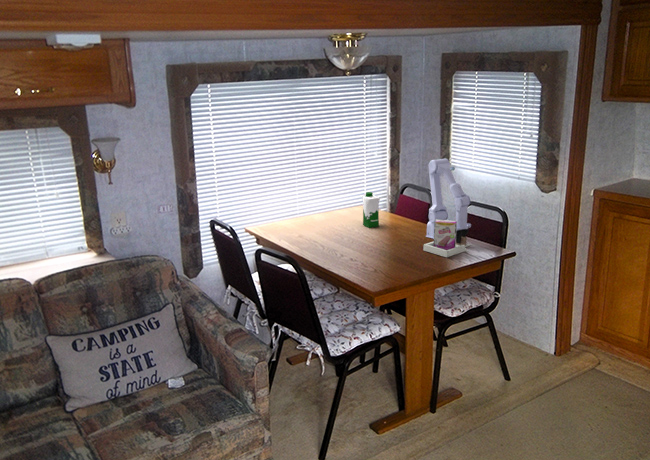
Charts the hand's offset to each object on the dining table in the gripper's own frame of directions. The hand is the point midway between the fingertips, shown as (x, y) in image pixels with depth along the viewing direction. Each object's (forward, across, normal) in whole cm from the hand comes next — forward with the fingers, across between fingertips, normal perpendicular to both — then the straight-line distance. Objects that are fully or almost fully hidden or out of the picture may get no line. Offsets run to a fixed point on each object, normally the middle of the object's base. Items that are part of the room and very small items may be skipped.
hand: (460, 242), depth 321 cm
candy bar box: (+2, -13, 0) cm, 13 cm away
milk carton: (+2, -8, +60) cm, 61 cm away
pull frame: (+2, -8, 0) cm, 9 cm away
